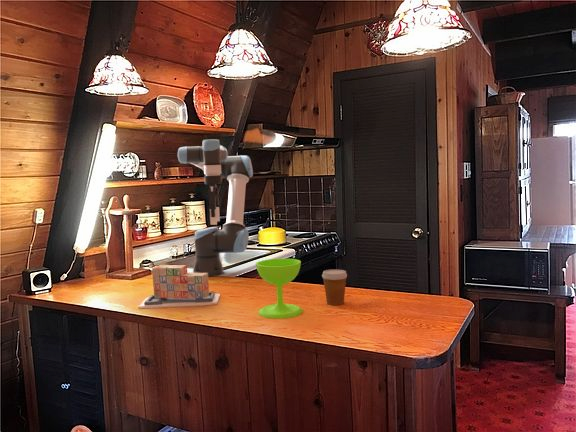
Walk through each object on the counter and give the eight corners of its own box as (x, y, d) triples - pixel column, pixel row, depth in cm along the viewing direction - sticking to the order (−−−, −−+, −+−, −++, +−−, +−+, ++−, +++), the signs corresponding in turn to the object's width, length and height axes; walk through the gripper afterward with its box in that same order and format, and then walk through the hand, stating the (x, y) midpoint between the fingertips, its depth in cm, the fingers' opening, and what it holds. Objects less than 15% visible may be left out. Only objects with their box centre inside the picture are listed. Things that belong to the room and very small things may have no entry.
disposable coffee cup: (330, 307, 181) (329, 275, 180) (318, 302, 190) (317, 271, 189) (353, 304, 185) (352, 272, 184) (339, 298, 194) (338, 268, 193)
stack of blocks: (209, 295, 198) (208, 265, 197) (202, 299, 192) (201, 268, 191) (161, 294, 204) (159, 264, 203) (153, 298, 198) (151, 267, 197)
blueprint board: (146, 299, 205) (146, 294, 205) (220, 295, 206) (219, 290, 206) (138, 308, 191) (138, 303, 191) (217, 304, 192) (216, 299, 192)
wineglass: (286, 303, 190) (284, 256, 188) (311, 312, 176) (309, 262, 175) (250, 311, 181) (247, 262, 179) (273, 321, 167) (271, 268, 166)
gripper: (207, 175, 232) (209, 220, 234) (200, 175, 207) (203, 226, 209) (223, 174, 232) (225, 219, 234) (218, 175, 207) (221, 225, 209)
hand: (215, 223), depth 221 cm, fingers open, 13 cm apart
